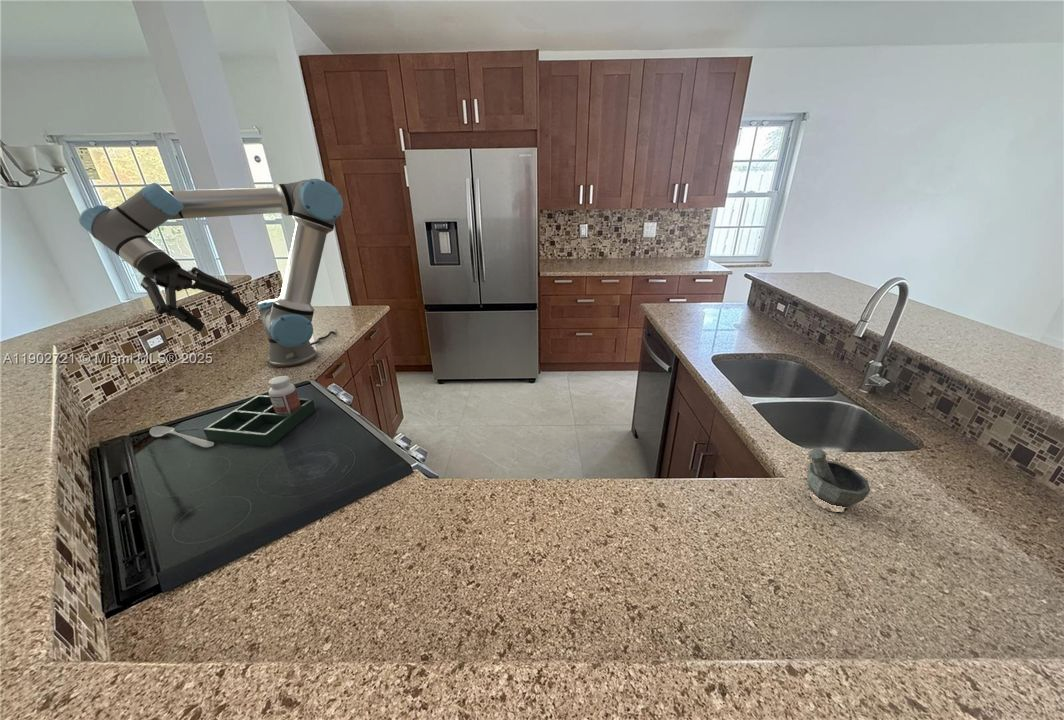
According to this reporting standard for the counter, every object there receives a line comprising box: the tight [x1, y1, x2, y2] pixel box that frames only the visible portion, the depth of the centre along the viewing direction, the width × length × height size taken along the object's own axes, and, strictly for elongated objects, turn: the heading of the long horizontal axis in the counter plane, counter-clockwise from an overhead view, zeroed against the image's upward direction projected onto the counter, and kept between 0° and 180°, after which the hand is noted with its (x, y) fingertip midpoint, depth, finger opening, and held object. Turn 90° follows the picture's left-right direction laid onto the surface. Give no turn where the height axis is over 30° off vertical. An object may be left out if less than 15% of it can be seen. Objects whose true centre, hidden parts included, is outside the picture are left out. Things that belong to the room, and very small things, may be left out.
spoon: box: [149, 425, 215, 449], centre depth 94 cm, size 4×21×2 cm, turn 74°
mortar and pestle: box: [806, 448, 871, 508], centre depth 74 cm, size 11×9×12 cm
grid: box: [202, 394, 317, 448], centre depth 100 cm, size 17×17×4 cm
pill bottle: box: [268, 375, 301, 415], centre depth 101 cm, size 6×6×11 cm
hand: (225, 319), depth 99 cm, fingers open, 13 cm apart
